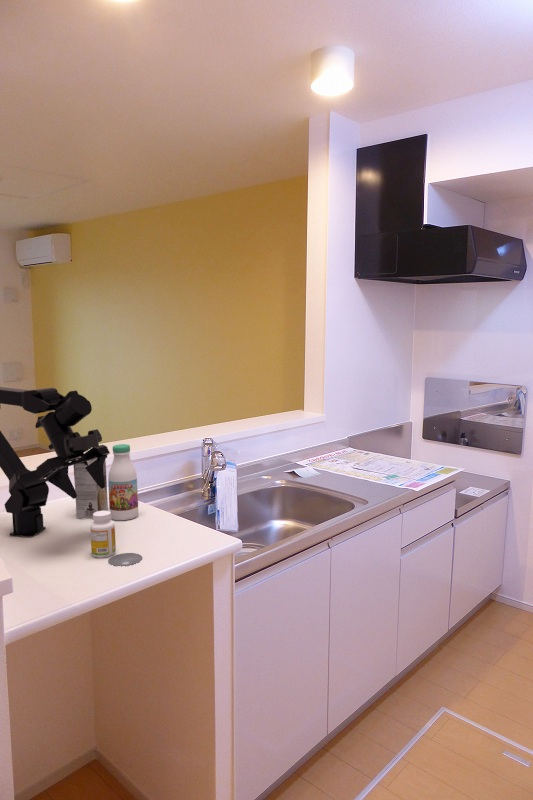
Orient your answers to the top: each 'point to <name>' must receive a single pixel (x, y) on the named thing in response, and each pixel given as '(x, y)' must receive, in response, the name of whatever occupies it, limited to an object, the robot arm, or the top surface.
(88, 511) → the coffee box
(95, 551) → the supplement bottle
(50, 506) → the top surface
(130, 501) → the milk bottle
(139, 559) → the coaster
